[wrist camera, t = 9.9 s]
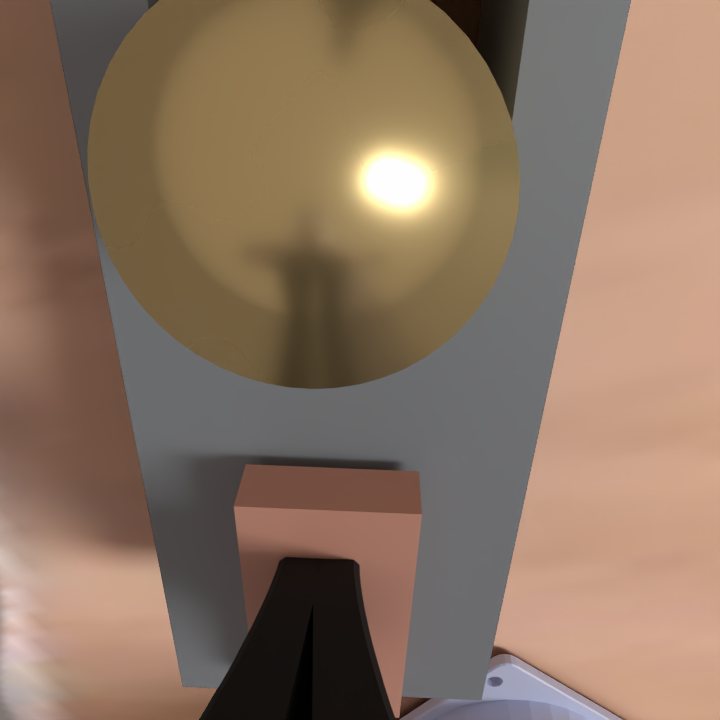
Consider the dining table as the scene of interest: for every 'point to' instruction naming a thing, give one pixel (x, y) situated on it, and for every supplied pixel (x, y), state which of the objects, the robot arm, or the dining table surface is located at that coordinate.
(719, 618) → the dining table surface
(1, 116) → the dining table surface
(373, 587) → the bar
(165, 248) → the brass pin
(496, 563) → the block
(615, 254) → the dining table surface
